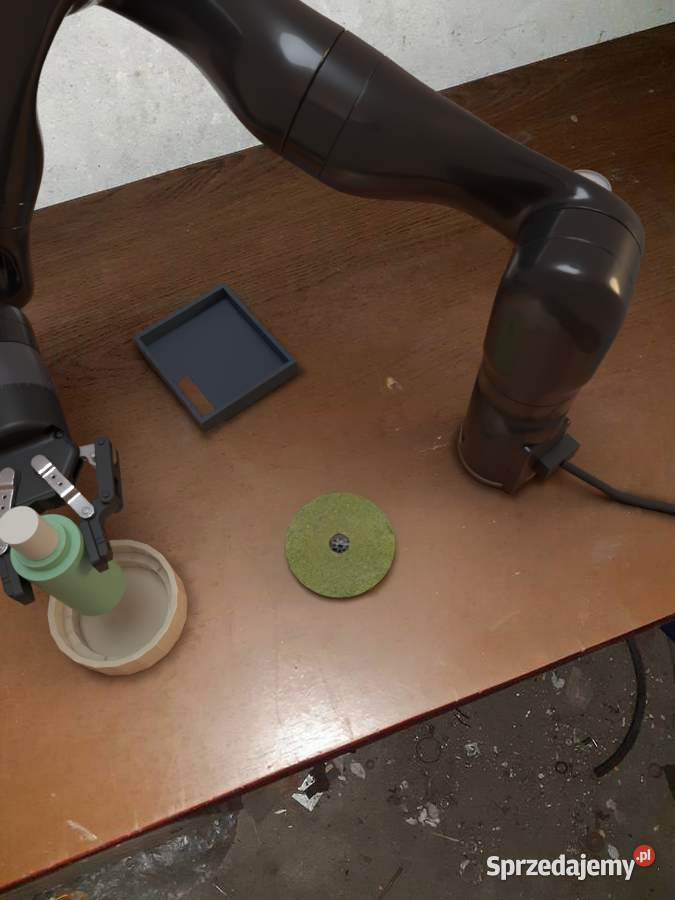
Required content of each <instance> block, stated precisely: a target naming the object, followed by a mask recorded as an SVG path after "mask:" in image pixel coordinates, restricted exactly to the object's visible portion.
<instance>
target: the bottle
mask: <svg viewBox="0 0 675 900" xmlns="http://www.w3.org/2000/svg"><path fill="white" fill-rule="evenodd" d="M0 539H1V540H2V541H3V542H5V543H6V544H7V545H9V546H10V547H11V551H10V557H11V562H12V565H13V567H14V569H15V570H16V572H17V573H18V574H19V575H21V576H22V577H23V578H25V579H27V580H28V581H30V582H31V584H33V585H34V586H35V587H38V588H39V589H40V590H42V591H43V592H45V593H47V594H48V595H49V596H50V595H51V596H53V597H54V598H56V599H57V600H59V601H60V602H62V603H64V604H65V605H67V606H68V607H70V608H71V609H73V610H74V611H76V612H77V613H79V614H81V615H85V616H98V615H102V614H104V613H106V612H108V611H110V610H111V609H112V608H114V607H115V606H116V605H117V604H118V602H119V601H120V599H121V598H122V596H123V594H124V591H125V585H126V581H125V575H124V572H123V570H122V569H121V567H120V566H119V565H118V564H117V563H116V562H115V561H113V560H111V561H109V562H108V565H109V569H108V570H106V571H104V572H101V573H99V572H98V571H97V570H96V569H95V568H94V567H93V566H92V564H91V562H90V559H89V555H88V552H87V549H86V546H85V543H84V539H83V536H82V533H81V530H80V527H79V525H77V524H76V523H74V521H73V520H71V519H70V518H68V517H67V516H64V515H61V514H55V513H50V514H49V513H48V514H43V515H41V514H40V515H39V514H38V513H37V512H35V511H34V510H33V509H32V508H30V507H26V506H18V507H15V508H12V509H10V510H8V511H7V512H6V513H5V514H4V515H3V516H2V517H1V519H0Z"/></svg>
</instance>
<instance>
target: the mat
mask: <svg viewBox="0 0 675 900" xmlns="http://www.w3.org/2000/svg"><path fill="white" fill-rule="evenodd" d="M286 531H287V532H286V534H285V541H284V546H285V547H284V549H285V557H286V560H287V564H288V565H289V568H290V570H291V571H292V573H293V575H294V576H295V577H296V579H297V580H298V581H299V582H300V583H301V584H302V585H303V586H305V587H306V588H308V589H309V590H311V591H312V592H315V593H316V594H319V595H322V596H325V597H329V598H330V597H331V598H350V597H354V596H357V595H360V594H363V593H365V592H367V591H368V590H371V589H372V588H373V587H374V586H375V585H377V584H379V582H381V580H382V579H383V578H384V577H385V576H386V575H387V572H388V571H389V569H390V568H391V565H392V563H393V560H394V556H395V551H396V540H395V539H396V538H395V533H394V530H393V527H392V524H391V522H390V520H389V518H388V517H387V515H386V514H385V513H384V512H383V510H381V508H380V507H379V506H378V505H377V504H375V503H374V502H373V501H371V500H369V499H368V498H365V497H363V496H361V495H358V494H354V493H349V492H332V493H331V492H330V493H327V494H322V495H320V496H317V497H314V499H312V500H310V501H309V502H307V503H306V504H304V505H303V506H302V507H300V509H299V510H298V511H297V512H296V514H295V515H294V516H293V518H292V520H291V521H290V523H289V526H288V529H287V530H286Z"/></svg>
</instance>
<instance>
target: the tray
mask: <svg viewBox="0 0 675 900" xmlns="http://www.w3.org/2000/svg"><path fill="white" fill-rule="evenodd" d="M132 341H134V344H135V345H136V348H137V349H138V351H139V352H140V353H141V355H142V356H143V358H145V360H146V362H148V364H149V365H150V366H151V367H152V369H153V370H154V371H155V372H156V374H157V375H158V376H159V377H160V379H161V381H163V382H164V384H165V385H166V387H168V389H170V390H171V392H172V393H173V394H174V395H175V397H176V398H177V399H178V400H179V401H180V403H181V404H182V405H183V407H184V408H185V409H186V411H187V412H188V413H189V414H190V415H191V417H192V418H193V419H194V420H195V422H196V423H197V424H198V425H199V427H200V428H201V430H203V432H204V433H205V432H207V431H208V430H210V429H212V428H213V427H214V426H216V425H217V424H219V423H221V422H223V421H224V422H226V421H228V420H229V419H230V418H233V417H234V416H236V415H237V414H238V413H240V412H242V411H243V410H245V409H246V408H248V407H249V406H251V405H252V404H254V403H255V402H256V401H258V400H259V399H261V398H262V397H264V396H266V395H267V394H269V393H270V392H272V391H273V390H274V389H276V388H278V387H279V386H282V385H283V384H284V383H286V382H287V381H288V380H290V379H292V378H293V377H294V376H296V375H297V374H299V371H298V370H299V369H298V363H297V360H296V359H295V358H294V357H293V356H292V355H291V354H290V352H288V350H287V349H286V348H285V347H284V346H283V345H282V343H280V342H279V341H278V339H276V337H275V336H274V335H273V334H272V333H271V332H270V330H268V328H266V326H265V325H264V324H263V323H262V322H261V321H260V320H259V319H258V317H257V316H255V314H254V313H253V312H252V311H251V310H250V308H248V307H247V306H246V304H244V302H243V301H242V300H241V299H240V298H239V297H238V296H237V295H236V294H235V293H234V292H233V290H232V289H231V287H229V286H228V285H227V284H226V283H225V282H222V283H221V284H219V285H217V286H215V287H214V288H212V289H211V290H209V291H207V292H205V293H203V294H202V295H200V296H199V297H197V298H196V299H194V300H192V301H190V302H189V303H187V304H185V305H184V306H182V307H181V308H179V309H177V310H175V311H174V312H172V313H171V314H168V315H167V316H165V317H164V318H162V319H160V320H158V321H157V322H155V323H154V324H151V325H150V326H148V327H147V328H145V329H143V330H141V331H140V332H139V333H137V334H135V335H134V336H132ZM186 378H188V379H190V381H192V383H193V384H194V385H195V386H196V388H197V389H198V390H199V392H200V393H201V394H202V395H203V396H204V397H205V399H206V400H207V401H208V403H209V404H210V405H211V406H212V407H213V408H214V409H213V410H212V411H210V412H208V413H207V414H205V415H204V416H202V414H201V413H200V412H199V411H198V409H197V408H196V407H195V405H194V404H193V403H192V402H191V401H190V399H189V398H188V397H187V396H186V394H185V393H184V392H183V391H182V389H181V388H180V387H179V386H178V385H177V384H179V383H180V382H181V381H183V380H184V379H186Z"/></svg>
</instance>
